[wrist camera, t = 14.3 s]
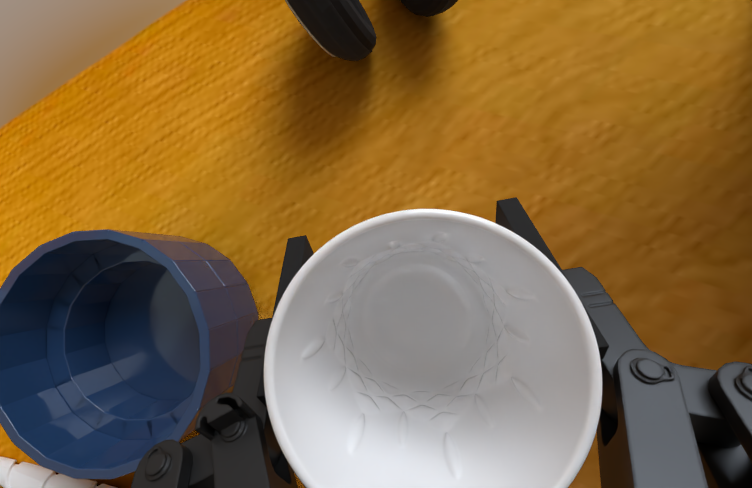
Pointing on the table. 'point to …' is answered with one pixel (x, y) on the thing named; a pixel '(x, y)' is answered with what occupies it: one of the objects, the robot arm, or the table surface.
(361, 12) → the headphones
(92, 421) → the navy blue bowl
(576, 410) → the white cup
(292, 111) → the table surface
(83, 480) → the unicorn horn
